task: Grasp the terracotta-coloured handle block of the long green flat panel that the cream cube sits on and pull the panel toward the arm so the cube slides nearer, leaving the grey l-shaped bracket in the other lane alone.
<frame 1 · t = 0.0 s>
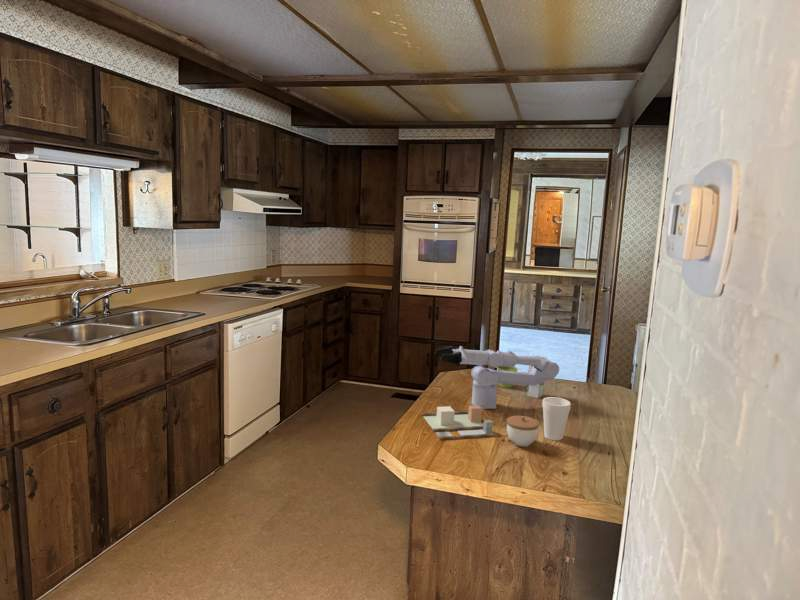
hand: (438, 355, 215), 22 cm above the countertop, tool horizontal, fingers open, 7 cm apart
syrup box: (534, 396, 239), on the countertop
foam cup: (553, 437, 196), on the countertop
lidded jar: (521, 443, 189), on the countertop
cream cube: (445, 422, 202), point 1 cm above the countertop, touching green flat panel
plant pot: (505, 386, 251), on the countertop
grey l-shaped bracket: (475, 428, 193), point 3 cm above the countertop, slide at 0.0 cm
lane rails: (457, 428, 199), on the countertop
green flat panel: (454, 415, 202), point 3 cm above the countertop, slide at 0.0 cm, touching cream cube
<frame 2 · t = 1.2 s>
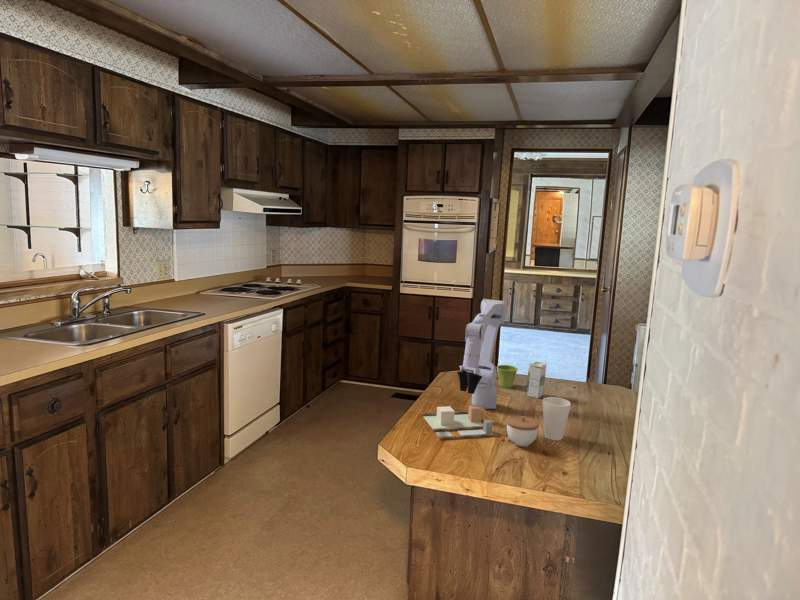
hand: (466, 392, 204), 12 cm above the countertop, tool tilted 15°, fingers open, 7 cm apart
nothing on the countertop moved.
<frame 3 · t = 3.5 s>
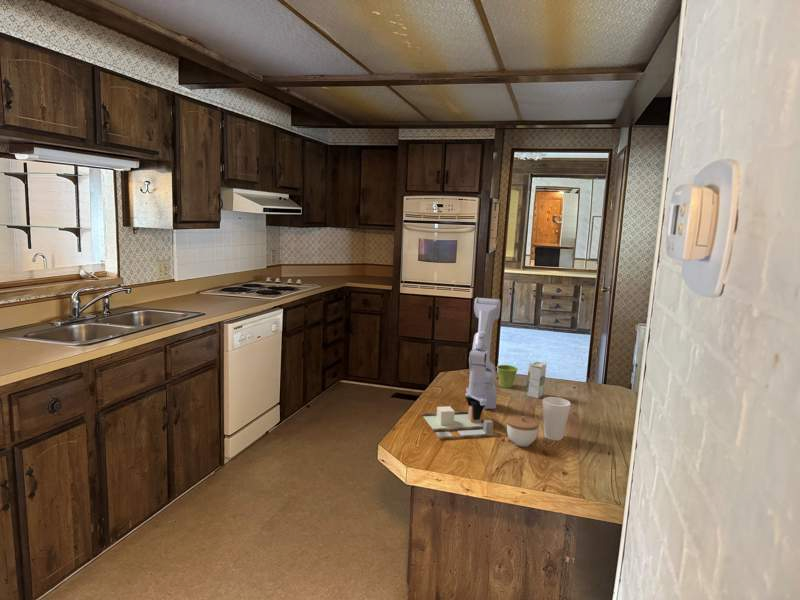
hand: (474, 417, 204), 2 cm above the countertop, tool pointing down, fingers closed on green flat panel, 3 cm apart
green flat panel: (454, 415, 202), point 3 cm above the countertop, slide at 0.0 cm, touching cream cube, gripper
everything else where it was.
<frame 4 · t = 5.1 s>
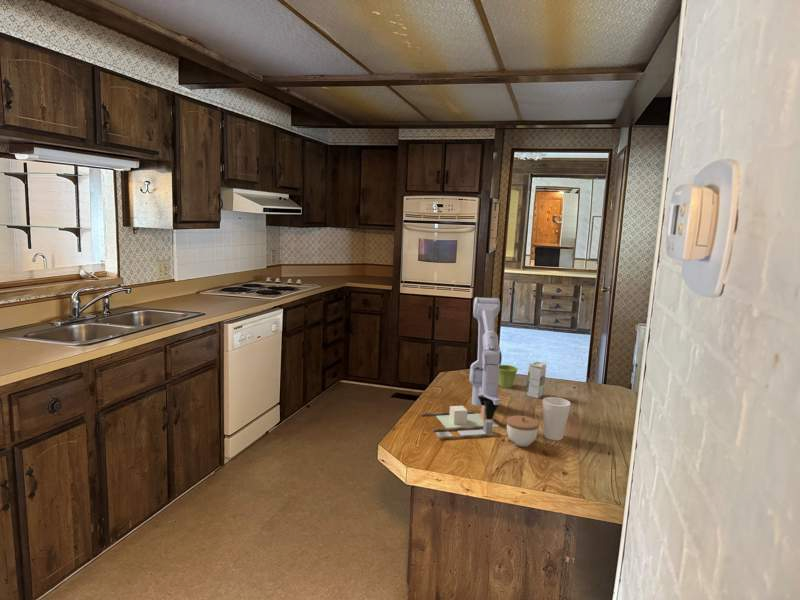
hand: (487, 416, 206), 2 cm above the countertop, tool pointing down, fingers closed on green flat panel, 3 cm apart
cream cube: (457, 421, 203), point 1 cm above the countertop, touching green flat panel
green flat panel: (467, 415, 204), point 3 cm above the countertop, slide at 5.0 cm, touching cream cube, gripper
everything else where it was.
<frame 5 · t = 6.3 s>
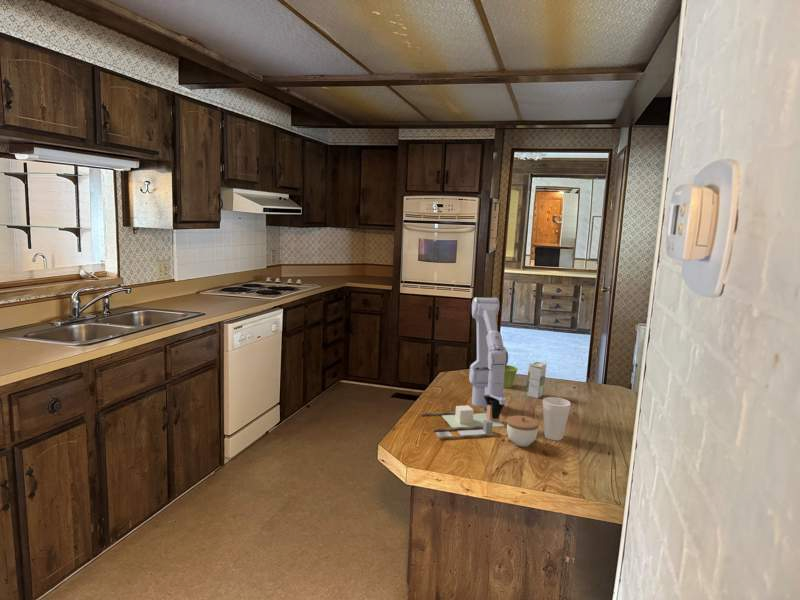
hand: (493, 416, 206), 2 cm above the countertop, tool pointing down, fingers closed on green flat panel, 3 cm apart
cream cube: (463, 421, 204), point 1 cm above the countertop, touching green flat panel
green flat panel: (473, 414, 204), point 3 cm above the countertop, slide at 7.3 cm, touching cream cube, gripper
everything else where it was.
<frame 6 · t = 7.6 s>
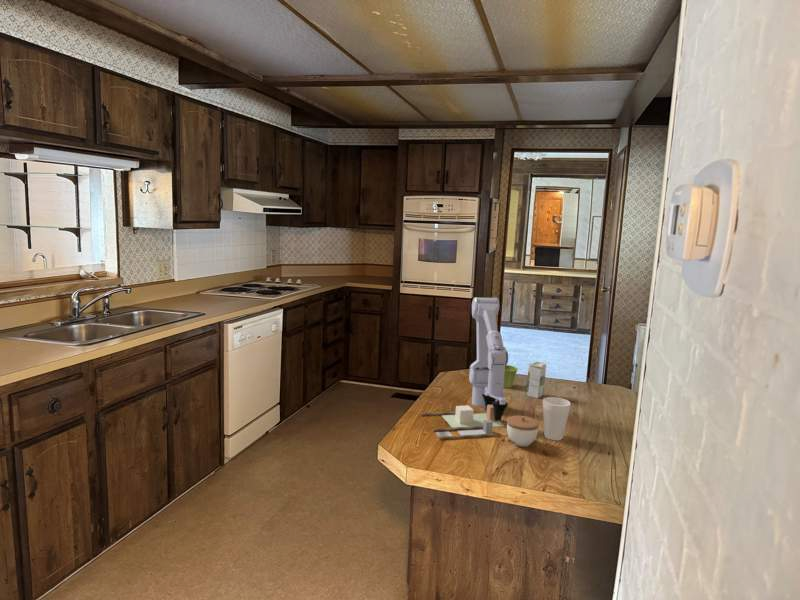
hand: (493, 416, 206), 2 cm above the countertop, tool pointing down, fingers open, 7 cm apart
green flat panel: (473, 414, 204), point 3 cm above the countertop, slide at 7.3 cm, touching cream cube
everything else where it was.
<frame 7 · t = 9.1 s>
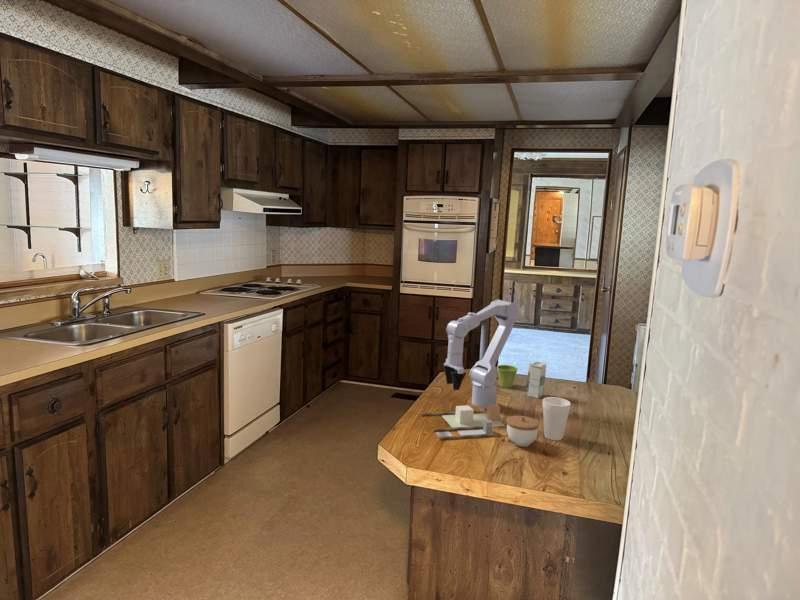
hand: (452, 386, 213), 10 cm above the countertop, tool pointing down, fingers open, 7 cm apart
nothing on the countertop moved.
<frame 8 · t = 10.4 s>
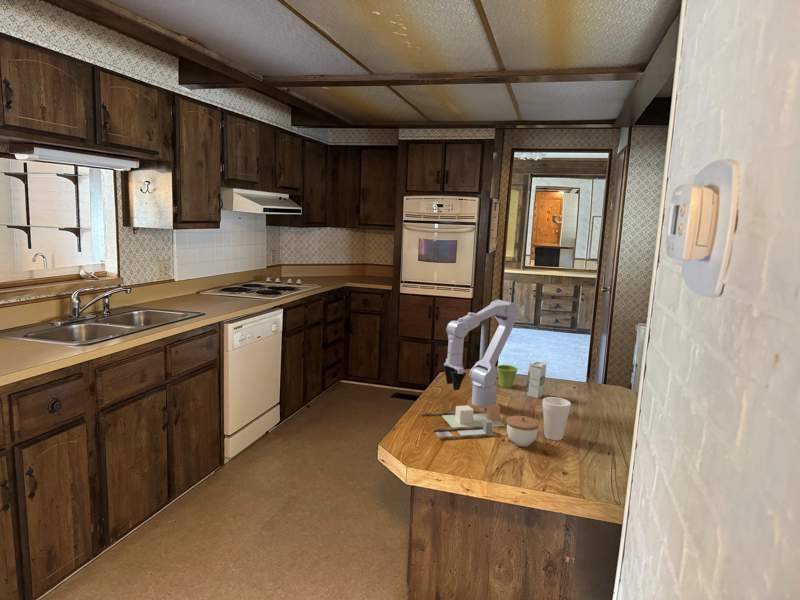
hand: (452, 386, 213), 10 cm above the countertop, tool pointing down, fingers open, 7 cm apart
nothing on the countertop moved.
at the end: green flat panel slide at 7.3 cm; cream cube moved 7.3 cm from its start; cream cube tilted 0° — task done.
